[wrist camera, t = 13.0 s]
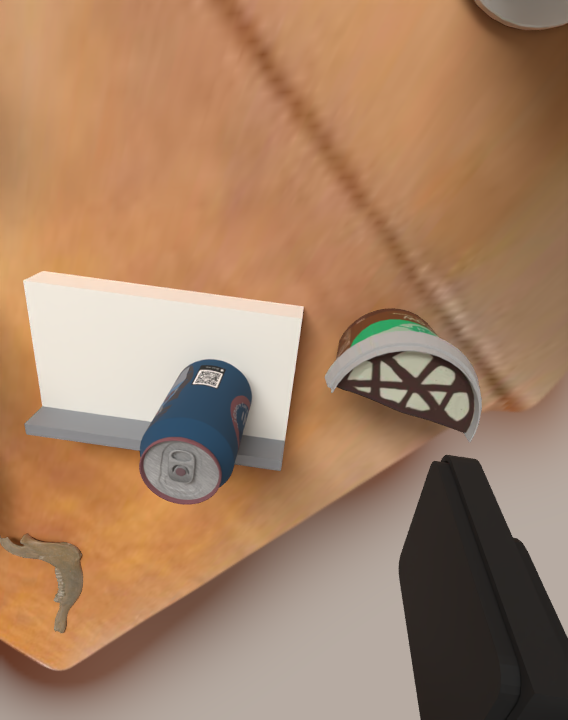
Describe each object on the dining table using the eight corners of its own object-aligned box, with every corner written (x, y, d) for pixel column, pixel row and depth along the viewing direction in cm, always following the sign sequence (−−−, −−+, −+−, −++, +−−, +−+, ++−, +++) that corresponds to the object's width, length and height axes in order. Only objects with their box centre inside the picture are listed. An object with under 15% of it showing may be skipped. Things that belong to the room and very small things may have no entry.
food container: (479, 324, 40) (523, 378, 31) (445, 380, 43) (476, 444, 34) (351, 274, 39) (359, 317, 30) (324, 335, 42) (324, 390, 33)
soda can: (249, 423, 43) (224, 518, 33) (178, 411, 43) (130, 502, 33) (258, 360, 40) (234, 442, 30) (181, 346, 40) (129, 424, 30)
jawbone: (72, 520, 57) (65, 533, 55) (120, 622, 66) (116, 636, 65) (4, 527, 58) (-5, 540, 56) (61, 627, 67) (54, 641, 65)
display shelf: (303, 306, 41) (300, 332, 36) (285, 435, 47) (280, 474, 42) (42, 271, 41) (0, 291, 36) (60, 403, 48) (27, 437, 43)
